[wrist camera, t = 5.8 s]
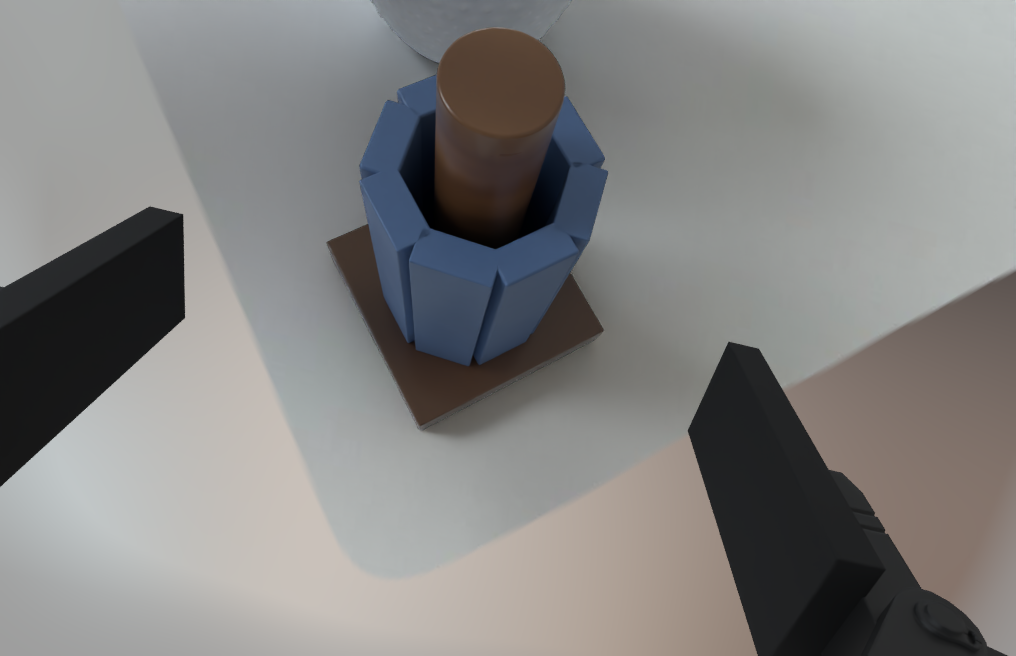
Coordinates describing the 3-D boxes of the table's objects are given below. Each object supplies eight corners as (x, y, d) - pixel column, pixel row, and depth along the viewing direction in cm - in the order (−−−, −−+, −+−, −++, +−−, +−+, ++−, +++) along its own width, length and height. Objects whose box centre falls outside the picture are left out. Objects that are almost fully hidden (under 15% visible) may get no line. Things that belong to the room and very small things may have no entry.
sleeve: (360, 253, 25) (324, 115, 16) (497, 192, 26) (531, 36, 17) (431, 389, 23) (434, 322, 15) (570, 319, 25) (646, 220, 16)
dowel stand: (330, 256, 26) (227, -12, 13) (502, 180, 28) (572, -122, 14) (420, 431, 24) (410, 341, 11) (595, 340, 26) (768, 168, 13)
